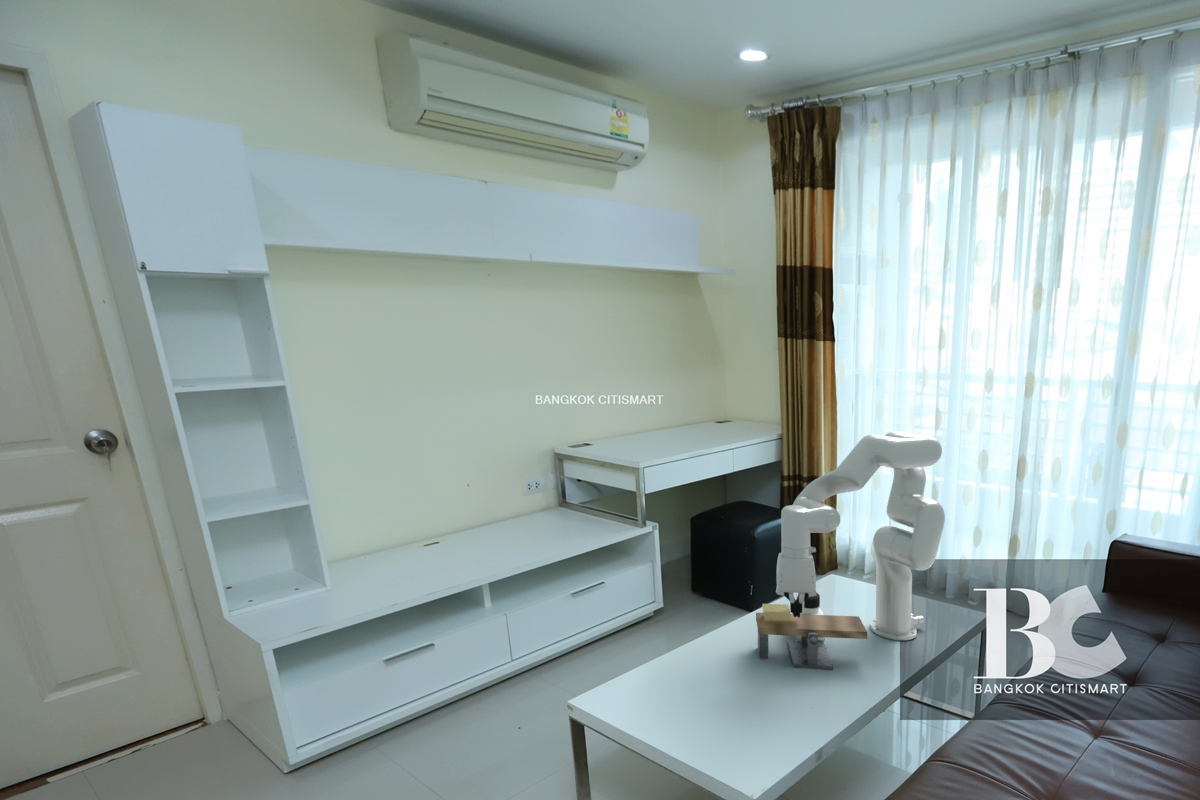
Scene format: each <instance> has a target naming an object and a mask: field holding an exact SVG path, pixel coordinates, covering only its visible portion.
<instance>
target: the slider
mask: <svg viewBox="0 0 1200 800" xmlns="http://www.w3.org/2000/svg"><path fill="white" fill-rule="evenodd" d="M761 604H762V605H761V606H762V613H763V620H764V624H784V625H791V614H792V613H791V611H790V607H789V604H784V603H783V604H779V603H778V604H777V603H761Z"/></svg>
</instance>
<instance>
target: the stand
mask: <svg viewBox="0 0 1200 800" xmlns="http://www.w3.org/2000/svg"><path fill="white" fill-rule="evenodd" d="M801 614H803V613H801ZM807 615H810V614H807ZM787 646H788V650H789V655H790V657H791V662H792V666H793V668H794V669H795V668H796V669H806V670H807V669H810V670H826V671H834V667H833V666H834V665H833V663H832V659H831V658H830V655H829V653H828V650H827V648H826V645H825V642H824V641H819V640H818V633H817V632H808V636H801V640H792V639H791V640H789V639H787ZM757 652H758V658H759V660H761V659H762V660H769V635H764V634H759V633H758V632H757Z"/></svg>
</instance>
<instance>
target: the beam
mask: <svg viewBox="0 0 1200 800" xmlns="http://www.w3.org/2000/svg"><path fill="white" fill-rule="evenodd" d="M790 614H791V625H784V624H764V620H763V612H755V621H756V626H757V634H758V633H759V634H764V635H768V636H769V635H771V636H791V637H796V636H808V632H817V633H818V637H825V638H830V639H831V638H836V639H837V638H838V639H855V640H856V639H857V640H858V639H859V640H868V630H867V628H866V627H865V625H864V623H863V621H862V619H861V618H860V616H853V615H851V616H850V615H829V614H824V615H807V614H800V617H794V616H793V614H792V613H790Z"/></svg>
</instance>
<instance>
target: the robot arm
mask: <svg viewBox="0 0 1200 800" xmlns="http://www.w3.org/2000/svg"><path fill="white" fill-rule="evenodd" d="M942 454H943V448H942V445H941V443H940V442H939V440H938V439H937V438H935V437H933V436H930V435H925V434H920V433H918V434H917V433H912V432H906V431H898V430H897V431H895V430H893V431H889V432H887V433H886V434H885V435H881V434H874V433H873V434H867V435H865V436H863V437H862V438H861V439H860V440H859V441H858V443H857V444H856V445H855V446H854V447H853V448H852V449H851V451H850V452H849V453H848V454H847V456H846V457H845V458H844V459H843V460H842V462H841V463H840V464H839V465H838V466H837V467H836V468H835V469H834V470H832V471H829V472H828V473H826V474H823V475H821V476H820V477H818V478H816V479H814V480H812V481H811V482H809V483H808V484H807V485H806V486H805V487H804V488H803V490H802V491H801V492H800V493H799V494H798V495H797V496H796V498H795V499H794V501H793V504H792V505H791V504H790V505H785V506H784V507H783V508H782V509H781V510H780V511H781V514H780V517H781V519H780V521H781V523H780V524H781V532H780V534H781V552H779V553H778V556H777V561H776V562H777V563H776V574H775V575H776V577H775V578H776V579H775V582H776V590H775V593H776V594H777V595H778V596H782V597H783V596H784V597H785V598H786V599H787V600H788V601H789V602H790V604H789V605H790V607H789V609H790V614H792V613H793V616H794V617H800V613H802V603H803V602H804V601H805V600H806V599H807V598H808V597H811V596H816V595H817V593H818V592H817V581H816V580H817V579H816V568H815V561H814V555H813V554H814V553H816V552H817V549H816V547H815V546H812V545H811V533H813V534H814V533H816V534H818V533H820V534H821V533H822V534H823V533H831V532H833V531H835V530H836V529H838V527H839V526H840V524H841V516H840V513H839V511H838V510H837V509H836V508H834V507H833V506H831V505H829V504H825V503H824V501H825V500H827V499H828V498H830V497H832V496H836V495H838V494H845V493H851V492H856V491H859V490H861V489H862V490H863V489H864V487H865V486H866V484H867V483H868V482H869V481H870V479H871V478H872V477H873V476H874V474H875V473H876V472H877V471H878V470H879V468H881V467H884V468H890V469H893V479H892V485H891V489H890V493H889V497H888V500H887V506H886V514H887V517H888V518H889V519H890V520H891V521H892V522H895V523H897V524H899V525H903V526H907V527H909V528H912V529H913V531H912V532H911V531H909V530H906V529H903V528H900V527H897V526H893V525H886V526H882V527H880V528H878V529H877V530H876V531H875V532H874V535H873V538H872V545H873V547H872V548H873V552H874V557H875V567H876V570H875V571H876V576H875V577H876V578H875V579H876V580H875V582H876V583H875V618H874V619H871V621H870V622H869V628H870V629H871V631H872V632H873V633H875V634H876V635H878V636H880V637H882V638H885V639H889V640H893V641H910V640H913V639H915V638H916V637H917V635H918V634H917V633H918V631H917V629H916V627H915V625H916V624H921V623H924V622H925V617H924V616H923V615H916V616H915V615H914V614H913V613H912V595H913V588H912V587H913V573H912V571H911V569H913V570H917V571H926V570H928V569H929V568H931V567H932V566H933V564H934V563H935V561H936V558H937V555H938V552H939V547H940V543H941V539H942V536H943V532H944V528H945V527H944V526H945V522H946V516H945V510H944V508H943V506H942V505H941V503H940V502H939V501H936V500H934V499H932V498H930V497H926V496H924V495H925V494H924V492H925V489H926V488H925V487H926V483H927V482H926V481H927V476H926V471H925V468H926V467H931V466H933V465H935V464H936V463H938V462H939V460H940V458H941V457H942ZM812 553H813V554H812ZM816 592H817V593H816ZM797 593H798V598H797V597H796V598H795V596H794V594H797Z"/></svg>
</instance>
